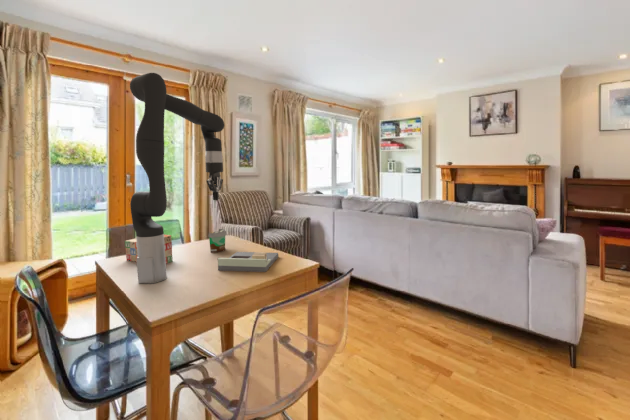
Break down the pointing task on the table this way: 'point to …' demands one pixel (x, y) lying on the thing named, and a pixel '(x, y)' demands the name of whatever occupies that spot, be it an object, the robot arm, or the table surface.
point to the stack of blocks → (132, 249)
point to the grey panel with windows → (246, 262)
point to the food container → (217, 241)
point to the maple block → (259, 256)
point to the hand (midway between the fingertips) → (215, 199)
